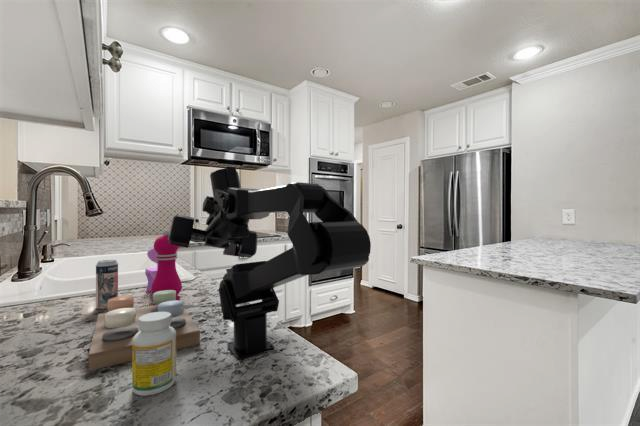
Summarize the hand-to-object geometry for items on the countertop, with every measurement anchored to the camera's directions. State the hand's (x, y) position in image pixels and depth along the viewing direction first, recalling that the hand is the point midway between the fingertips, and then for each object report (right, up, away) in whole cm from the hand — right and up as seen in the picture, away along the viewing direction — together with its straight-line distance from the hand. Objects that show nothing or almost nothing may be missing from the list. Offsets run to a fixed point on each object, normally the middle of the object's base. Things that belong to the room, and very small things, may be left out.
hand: (205, 249), depth 71 cm
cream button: (-7, -11, -19) cm, 23 cm away
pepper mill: (-13, -16, +6) cm, 21 cm away
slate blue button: (-1, -11, -15) cm, 18 cm away
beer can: (-27, -16, +4) cm, 32 cm away
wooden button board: (-7, -15, -13) cm, 21 cm away
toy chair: (-21, -16, +18) cm, 32 cm away
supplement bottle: (+5, -15, -30) cm, 34 cm away
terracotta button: (-13, -11, -11) cm, 20 cm away
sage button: (-6, -11, -7) cm, 14 cm away
